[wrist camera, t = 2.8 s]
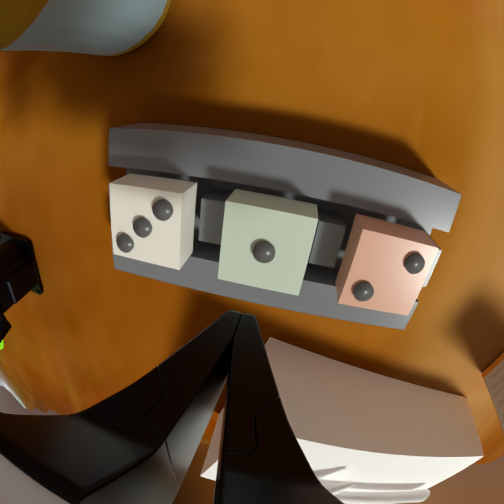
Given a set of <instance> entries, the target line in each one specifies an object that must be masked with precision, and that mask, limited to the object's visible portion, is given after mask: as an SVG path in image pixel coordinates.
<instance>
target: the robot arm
mask: <svg viewBox="0 0 504 504" xmlns="http://www.w3.org/2000/svg"><path fill="white" fill-rule="evenodd" d="M30 291H32V292H35V293H37V294H39V295H41V294H42V293H43V287H42V284H41V280H40V276H39V273H38V269H37V265H36V260H35V256H34V251H33V247H32V243H31V242H30V241H29V240H27V239H24V238H21V237H18V236H15V235H12V234H9V233H6V232H3V231H1V232H0V343H1V341H2V340H3V338H4V337H5V335H6V334H7V333H8V331H9V330H10V328H11V327H12V326H11V324H10V323H9V322H8V321H7V319H6V317H5V316H4V314H3V313H5V312H6V311H7V310H8V309H9V308H10V307H11V306H12V305H13V304H14V303H15V304H16V303H17V302H18V301H20V300H21V299H22V298H23V297H24V296H25V295H26V294H27V293H28V292H30ZM227 377H228V380H227ZM226 380H227V387H226V396H225V404H224V413H223V421H222V430H221V439H220V448H219V457H218V466H217V475H216V484H215V494H214V503H213V504H344V503H343V502H342V501H340V500H339V499H338V498H337V497H335V496H334V495H333V494H332V493H330V492H329V491H328V490H327V489H326V488H325V487H324V486H323V485H322V484H321V483H320V481H319V480H318V478H317V477H316V475H315V473H314V472H313V470H312V468H311V466H310V464H309V462H308V460H307V458H306V456H305V454H304V452H303V450H302V449H301V447H300V445H299V443H298V441H297V439H296V437H295V434H294V432H293V430H292V428H291V426H290V423H289V421H288V418H287V415H286V413H285V410H284V407H283V404H282V401H281V398H280V397H279V396H280V395H279V391H278V388H277V385H276V382H275V378H274V375H273V372H272V369H271V365H270V362H269V359H268V355H267V352H266V349H265V346H264V342H263V339H262V336H261V332H260V329H259V326H258V322H257V319H256V316H254V315H251V314H246V313H243V314H241V312H237V311H233V310H229V311H227V312H226V313H225V314H223V315H222V316H221V317H220V318H218V319H217V320H216V321H214V322H213V323H212V324H211V325H209V326H208V327H207V328H206V329H204V330H203V331H202V332H201V333H199V334H198V335H197V336H195V337H194V338H193V339H192V340H190V341H189V342H188V343H187V344H185V345H184V346H183V347H181V348H180V349H179V350H178V351H176V352H175V353H174V354H172V355H171V356H170V357H168V358H167V359H166V360H165V361H163V362H162V363H161V364H159V365H158V366H157V367H155V368H154V369H153V370H151V371H150V372H149V373H147V374H146V375H144V376H143V377H142V378H140V379H139V380H137V381H136V382H134V383H133V384H131V385H129V386H128V387H126V388H124V389H123V390H121V391H119V392H117V393H115V394H114V395H112V396H110V397H108V398H106V399H105V400H103V401H101V402H99V403H97V404H95V405H93V406H92V407H90V408H88V409H86V410H83V411H81V412H78V413H74V414H70V415H13V414H5V413H1V412H0V504H172V502H173V500H174V498H175V496H176V494H177V492H178V489H179V487H180V485H181V483H182V481H183V478H184V476H185V474H186V472H187V470H188V467H189V465H190V463H191V461H192V459H193V456H194V454H195V452H196V449H197V447H198V445H199V443H200V441H201V438H202V436H203V434H204V431H205V429H206V427H207V425H208V422H209V420H210V418H211V415H212V413H213V411H214V408H215V406H216V404H217V401H218V399H219V397H220V394H221V392H222V390H223V387H224V385H225V382H226Z"/></svg>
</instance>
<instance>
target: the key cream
mask: <svg viewBox="0 0 504 504" xmlns="http://www.w3.org/2000/svg"><path fill="white" fill-rule="evenodd" d="M109 187H110V213H111V229H112V242H113V253H114V254H116V255H120V256H124V257H128V258H132V259H136V260H140V261H144V262H148V263H152V264H156V265H160V266H164V267H168V268H173V269H177V270H180V269H181V267H182V266H183V265H184V263H185V262H186V261H187V259H188V258H189V256H190V255H191V254H192V252H193V237H194V220H195V205H196V192H197V182H190V181H183V180H176V179H169V178H162V177H154V176H146V175H138V174H128V175H126V176H123V177H121V178H119V179H117V180H115V181H113V182H111V183H109Z"/></svg>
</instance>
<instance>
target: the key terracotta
mask: <svg viewBox="0 0 504 504" xmlns="http://www.w3.org/2000/svg"><path fill="white" fill-rule="evenodd" d="M438 249H439V248H438V247H437V245H436V244H435V243H434V242H433V240H432V239H431V238H430V237H429V235H428V234H427V233H426V232H425V231H422V230H419V229H415V228H411V227H408V226H404V225H400V224H396V223H392V222H389V221H385V220H381V219H377V218H373V217H369V216H364V215H360V214H356V215H355V219H354V222H353V226H352V229H351V233H350V236H349V240H348V243H347V246H346V250H345V253H344V256H343V259H342V262H341V265H340V269H339V272H338V275H337V278H336V281H335V284H336V292H337V300H338V304H344V305H349V306H355V307H360V308H366V309H371V310H377V311H383V312H389V313H395V314H401V315H407V316H408V315H409V313H410V311H411V309H412V307H413V305H414V303H415V301H416V299H417V297H418V294H419V292H420V290H421V288H422V286H423V284H424V282H425V279H426V277H427V275H428V273H429V270H430V268H431V266H432V263H433V261H434V259H435V256H436V254H437V251H438Z"/></svg>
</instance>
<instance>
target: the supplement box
mask: <svg viewBox="0 0 504 504" xmlns="http://www.w3.org/2000/svg"><path fill="white" fill-rule="evenodd" d="M482 376H483V379H484V381H485V384H486V386H487V388H488V391H489V393H490V396H491V399H492V401H493V404H494V407H495V409H496V412H497V415H498V418H499V421H500V424H501V427H502V430H503V433H504V352H503V353H502V354H501V355H500V356H499V357H498V358H497V359H496V360H495V361H494V362H493V363H492V364H491V365H490V366H489V367H488V368H487V369H485V370H484V371H483V372H482Z"/></svg>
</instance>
